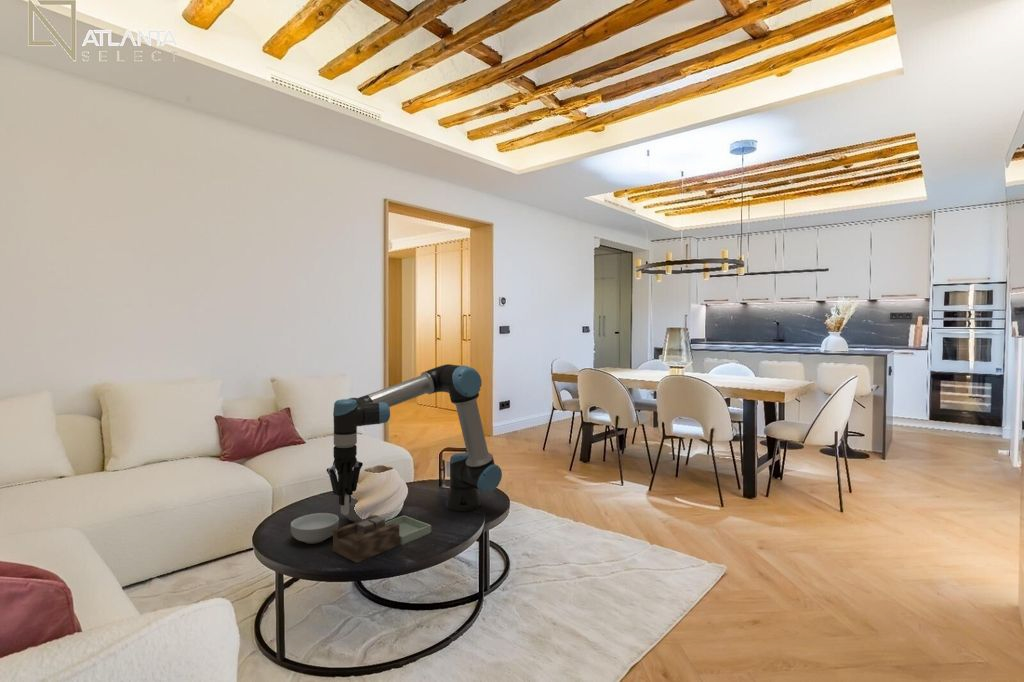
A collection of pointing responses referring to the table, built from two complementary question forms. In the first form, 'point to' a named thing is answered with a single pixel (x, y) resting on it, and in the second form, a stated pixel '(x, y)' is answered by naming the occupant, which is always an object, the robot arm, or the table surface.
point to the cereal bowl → (314, 527)
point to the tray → (410, 528)
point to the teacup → (352, 512)
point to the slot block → (364, 541)
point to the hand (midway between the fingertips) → (344, 513)
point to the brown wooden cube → (364, 527)
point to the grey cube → (378, 522)
